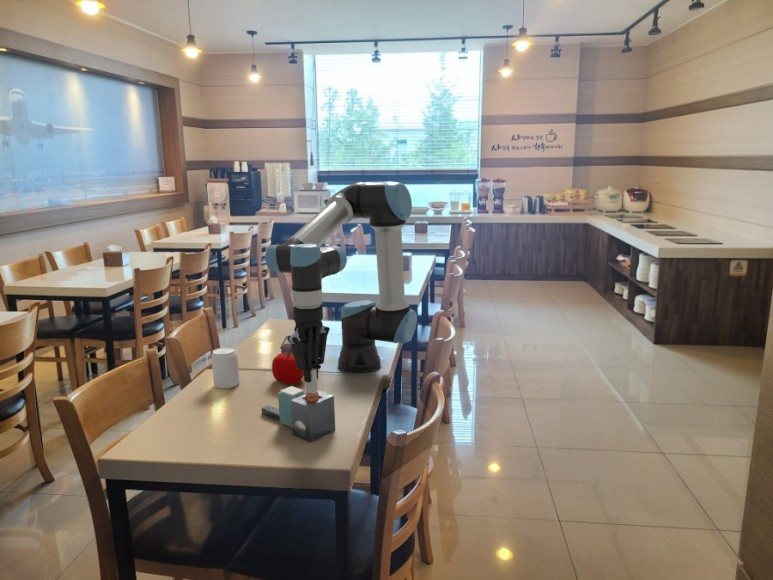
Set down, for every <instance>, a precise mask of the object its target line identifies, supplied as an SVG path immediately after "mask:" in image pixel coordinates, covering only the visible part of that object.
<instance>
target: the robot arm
mask: <svg viewBox="0 0 773 580" xmlns="http://www.w3.org/2000/svg"><path fill="white" fill-rule="evenodd" d="M326 201H327V202H326V203H325V206H324V207H323V208H322V209H321V210H320V211H319V212H318V213H316V214H315V215H314V216H313V217H312V218H311V219H310V220H309V221H308V222H306V223H305V224H304V225H303V226H302V227H301V228H300V229H299V230H298V231H297V232H296V233H295V234H293V235H292V236H291V237H290V238H289V239H287V240H286V241H285V242H284V243H283V244H273V245H270V246H269V247H268V248H267V249H266V251H265V254H264V262H265V265H266V268H267V269H268V270H269V271H271V272H276V273H277V272H278V273H280V274H283V273H284V274H285V273H286V274H291V277H290V278H291V295H292V305H293V308H292V312H293V314H292V316H293V321H294V323H295V325H294V332H293V334H292V335H288V336H287V337H286V339H287V341H288V342H289V344H290V346H291V350H292V353H293V355H294V358H295V362H296V366H297V368H298V369H301V370H303V371H304V376H303V382H305V392H308V393H311V394H315V393H317V390H318V379H319V370H321V368H322V365H323V364H324V361H325V357H326V356H325V355H326V348H327V341H328V335H329V332H330V330H331V328H330V327H329V326H326V325H323V321H322V320H323V319H324V312H323V311H324V309H323V307H324V306H323V305H322V304H323V285H322V284H323V283H322V279H323V278H326V277H329V276H334V275H337V274H338V273H340V272H342V271H344V269H345V268H346V266H347V263H348V259H347V254H346V252H345V251H344V250H343V248H342V247H340V246H338V245H328V246H325V247H321V246H322V245H323V244H324V243H325V242H326V241H327V240H328V239H329V238H330V237H331V236H333V234H334V233H335V232H336V231H337V230H338V229H339V228H340V227H341V226H342V225H347V224H348V223H350V222H351V221H352V220H354V219H355V220H356V219H369V226H370V228H372V229H373V230H374V235H375V237H374V238H375V250H376V252H375V254H376V266H377V267H376V268H377V279H378V280H377V281H378V282H377V283H378V296H379V300H378V301H376V303H375V302H374V300H371V299H370V300H366V299H365V300H356V301H352V302H348V303H345V304H344V305H343V306H342V307H341V312H340V321H341V340H342V341H341V342H342V343H341V344H342V345H341V349H340V353H339V356H338V359H337V364H338V365H337V366H338V368H339V369H340V370H341V371H343V372H347V371H348V373H356V372H359V373H368V372H372V371H375V370H377V369H379V368H380V367H381V363H382V362H381V357H380V355H379V353H378V349H377V345H376V341H380V342H387V343H393V344H406V343H408V342H410V340H411V339H412V338H413V336H414V334H415V331H416V328H417V321H418V315H417V312H416V311H415V310H414V309H411V305H410V301H409V300H408V299H406V295H405V294H406V293H405V275H404V257H403V256H404V253H403V238H402V237H403V235H402V228H403V227H404V226H405V225H406V222H407V221H406V220H408V219H409V218H410V217H411V214H412V209H413V205H412V204H413V203H412V202H413V201H412V196H411V193H410V191H409V189H408V188H407V186H406V185H405V184H404V183H403V182H402V183H401V182H400V181H399V182H397V181H368V182H367V181H366V182H365V181H361V182H360V181H359V182H356V183H352V184H350V185H348V186H346V187H344V188H342V189H340V190H339V191H337V192H335V193H334V195H332V196H331V197H329V199H327V200H326ZM321 364H322V365H321Z"/></svg>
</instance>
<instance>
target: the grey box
mask: <svg viewBox="0 0 773 580" xmlns="http://www.w3.org/2000/svg"><path fill="white" fill-rule="evenodd" d="M317 391H318V392H319V395H318V400H316V401H314V402H310V401H307V397H306V394H304V395H302V396H299V397H297V398H295V399H292V400H291V415H292V427H291V429H292V430H291V431H292V436H294V437H296V438H297V439H298V438H299V439H301V440H303V441H305V442H307V443H310V444H312V443H314V442H316V441H317V440H319V439H322V438H323V437H325V436H327V435H328V434H331V433H333V432H334V431H336V416H335V413H336V412H335V411H336V410H335V396H334V394H330V393H328V392H324V391H322V390H318V389H317Z"/></svg>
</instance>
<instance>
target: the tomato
mask: <svg viewBox="0 0 773 580" xmlns="http://www.w3.org/2000/svg"><path fill="white" fill-rule="evenodd" d="M271 372H272V376H273V378H274V379H275V381H277V382H279V383H282V384H284V385H290V386H293V385H297V384H299V383H300V382H301V381H302V379H304V371H303V370H301V369H298V368H297V366H296V362H295V358H294V355H293V352H283V351H282V352H281V353H278V354H277V355H276V356H275V357H274V358H273V359H272V363H271Z"/></svg>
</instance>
